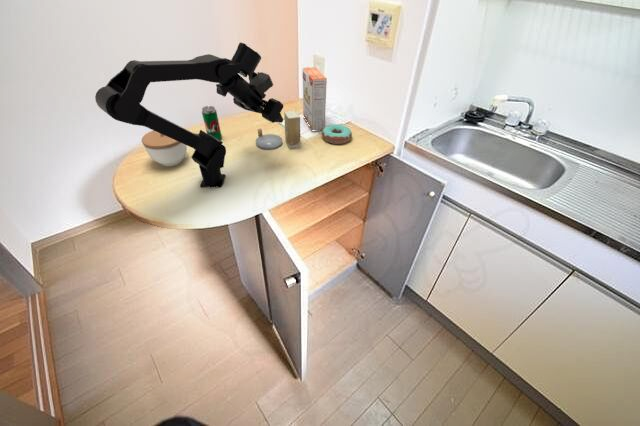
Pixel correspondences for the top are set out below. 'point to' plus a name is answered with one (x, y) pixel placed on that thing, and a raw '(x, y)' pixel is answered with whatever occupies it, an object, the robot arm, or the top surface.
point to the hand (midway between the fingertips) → (273, 116)
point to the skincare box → (292, 129)
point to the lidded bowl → (164, 148)
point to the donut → (336, 134)
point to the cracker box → (314, 97)
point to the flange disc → (268, 141)
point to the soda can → (211, 121)
